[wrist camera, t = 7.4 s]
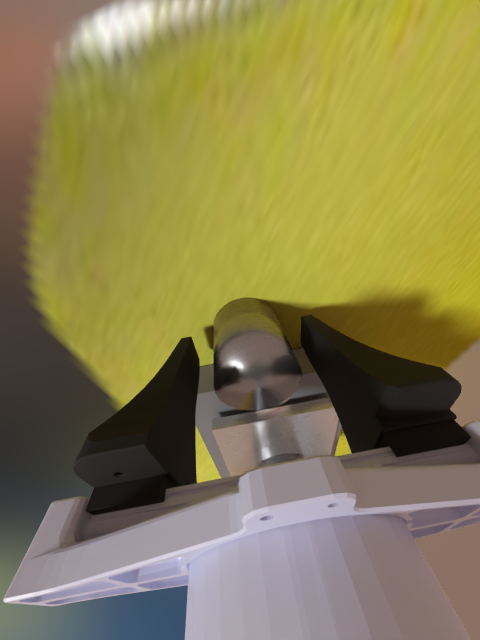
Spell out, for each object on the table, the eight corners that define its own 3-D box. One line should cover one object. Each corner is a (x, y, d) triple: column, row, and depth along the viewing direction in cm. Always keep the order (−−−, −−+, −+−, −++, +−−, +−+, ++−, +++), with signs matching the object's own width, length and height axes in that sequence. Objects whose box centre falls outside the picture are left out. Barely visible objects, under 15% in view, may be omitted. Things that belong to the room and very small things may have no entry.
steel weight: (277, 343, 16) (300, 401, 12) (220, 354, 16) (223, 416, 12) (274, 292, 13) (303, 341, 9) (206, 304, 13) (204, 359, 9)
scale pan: (322, 462, 21) (326, 472, 20) (235, 479, 21) (235, 489, 20) (335, 396, 15) (341, 406, 14) (211, 419, 15) (211, 430, 14)
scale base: (323, 433, 24) (336, 462, 22) (220, 452, 24) (221, 484, 21) (338, 341, 16) (361, 370, 14) (186, 369, 16) (181, 403, 14)
